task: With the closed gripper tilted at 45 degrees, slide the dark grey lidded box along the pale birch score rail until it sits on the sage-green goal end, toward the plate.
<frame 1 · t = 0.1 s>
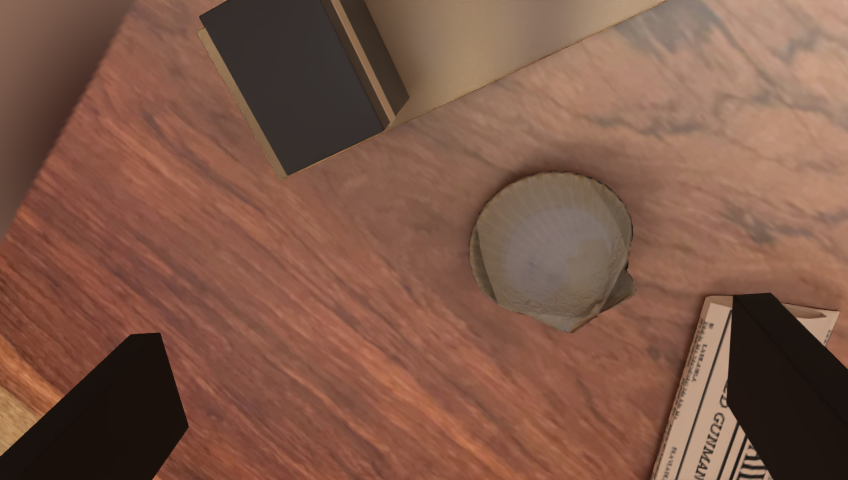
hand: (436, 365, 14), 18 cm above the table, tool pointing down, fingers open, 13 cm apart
newspaper: (707, 474, 37), on the table
seashell: (548, 240, 32), on the table
dark grey lidded box: (322, 64, 24), point 6 cm above the table, slide at -9.0 cm
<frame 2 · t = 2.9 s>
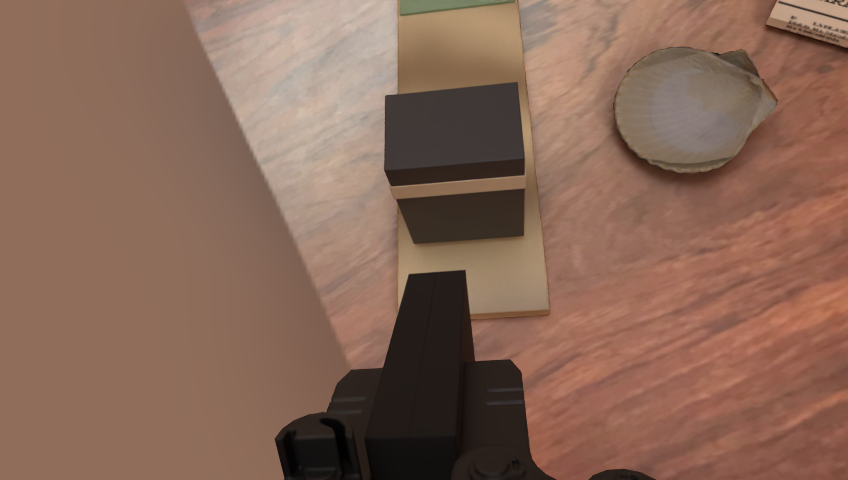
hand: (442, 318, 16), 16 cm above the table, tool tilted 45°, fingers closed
seashell: (683, 124, 36), on the table
score rail: (462, 92, 39), on the table
dark grey lidded box: (460, 171, 30), point 5 cm above the table, slide at -9.0 cm
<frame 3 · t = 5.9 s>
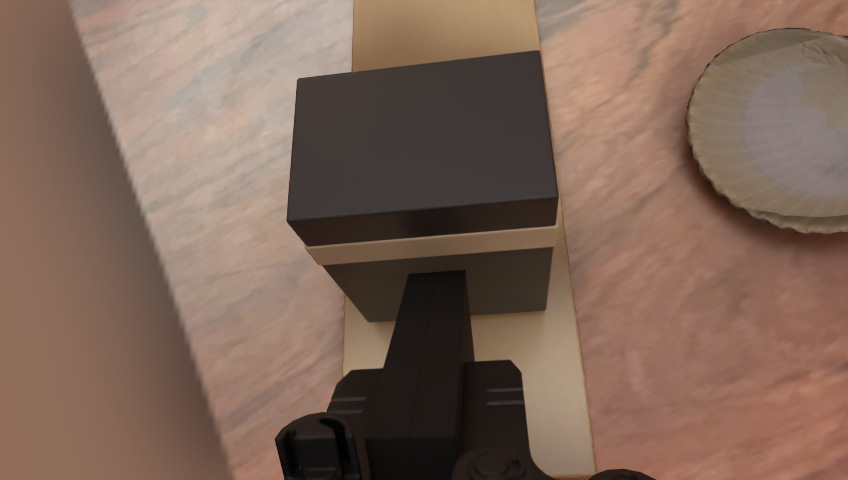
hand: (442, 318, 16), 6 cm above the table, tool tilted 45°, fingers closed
seashell: (793, 150, 23), on the table
score rail: (448, 101, 26), on the table
dark grey lidded box: (438, 210, 18), point 5 cm above the table, slide at -7.9 cm, touching gripper
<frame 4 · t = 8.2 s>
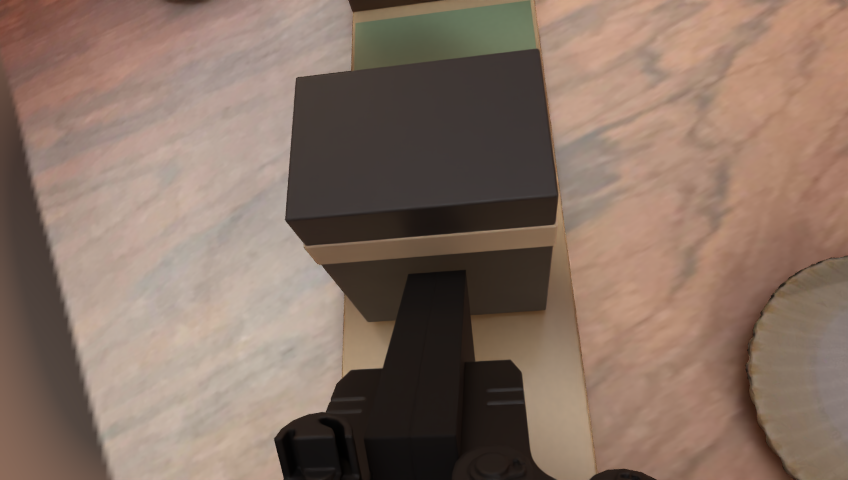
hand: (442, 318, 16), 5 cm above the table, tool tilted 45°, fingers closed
score rail: (458, 308, 22), on the table
dark grey lidded box: (437, 209, 18), point 5 cm above the table, slide at 1.2 cm, touching gripper
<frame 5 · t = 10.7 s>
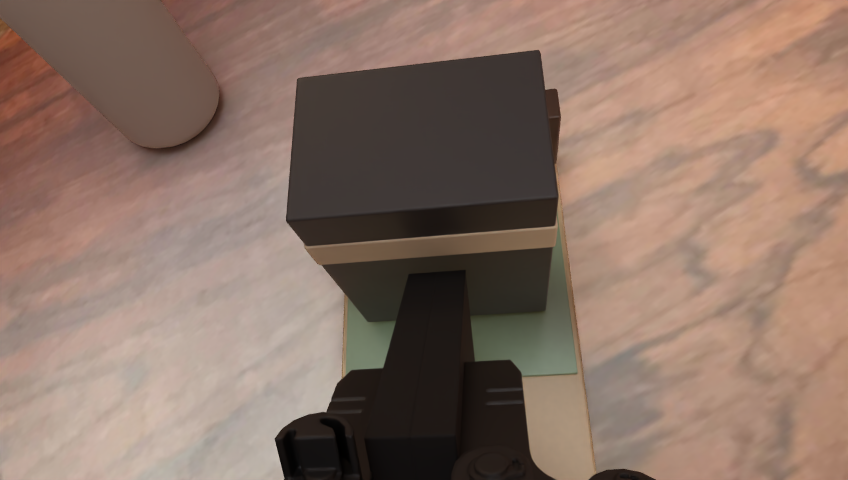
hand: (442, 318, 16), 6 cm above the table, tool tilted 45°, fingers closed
beverage can: (177, 112, 28), on the table
dark grey lidded box: (438, 210, 18), point 5 cm above the table, slide at 10.0 cm, touching gripper
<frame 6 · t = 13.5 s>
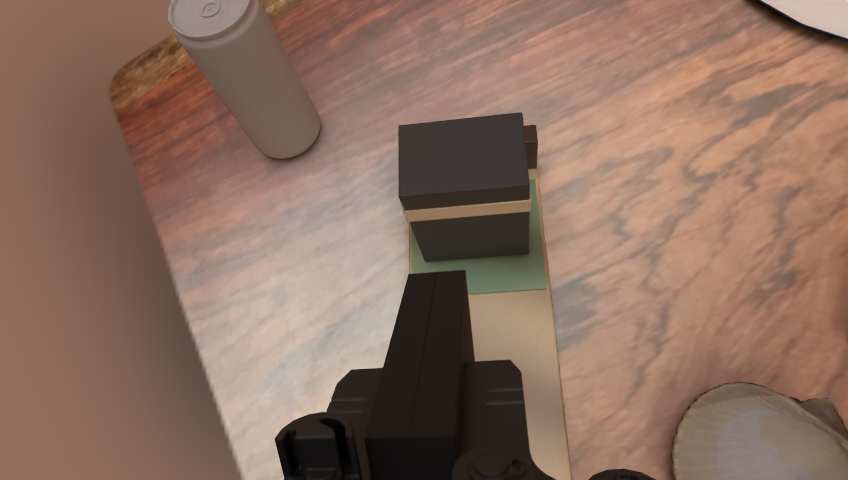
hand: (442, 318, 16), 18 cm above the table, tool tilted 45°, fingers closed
seashell: (754, 473, 30), on the table
beverage can: (290, 134, 43), on the table
score rail: (486, 405, 33), on the table
dark grey lidded box: (468, 194, 32), point 5 cm above the table, slide at 10.0 cm
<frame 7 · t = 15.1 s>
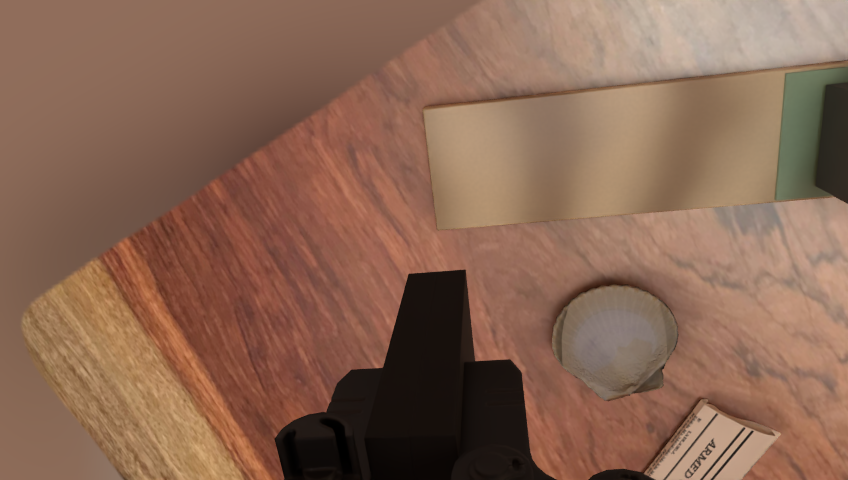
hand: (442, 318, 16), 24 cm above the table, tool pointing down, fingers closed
seashell: (609, 329, 43), on the table
score rail: (669, 145, 38), on the table
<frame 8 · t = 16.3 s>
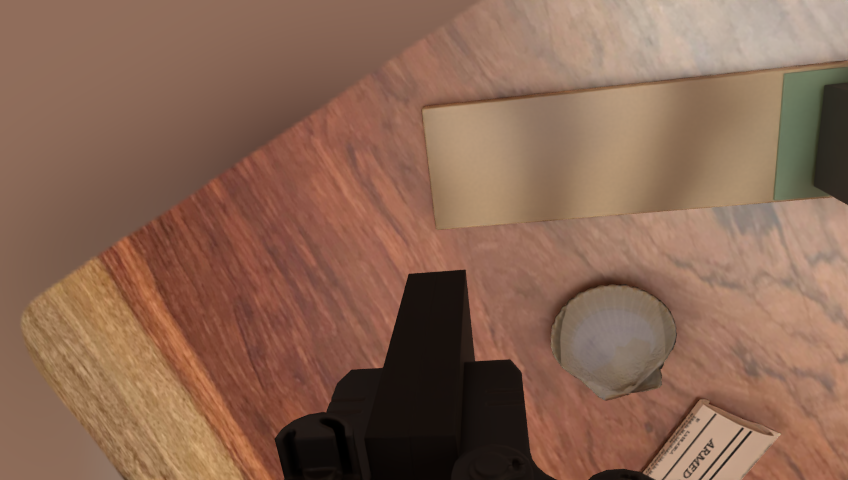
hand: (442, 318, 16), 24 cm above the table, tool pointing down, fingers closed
seashell: (607, 329, 43), on the table
score rail: (668, 145, 38), on the table
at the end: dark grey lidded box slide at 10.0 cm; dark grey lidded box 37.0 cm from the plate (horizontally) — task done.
